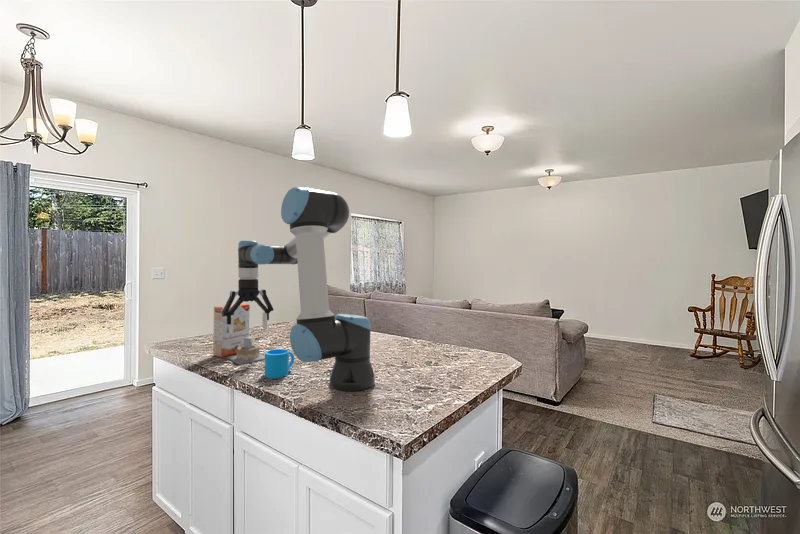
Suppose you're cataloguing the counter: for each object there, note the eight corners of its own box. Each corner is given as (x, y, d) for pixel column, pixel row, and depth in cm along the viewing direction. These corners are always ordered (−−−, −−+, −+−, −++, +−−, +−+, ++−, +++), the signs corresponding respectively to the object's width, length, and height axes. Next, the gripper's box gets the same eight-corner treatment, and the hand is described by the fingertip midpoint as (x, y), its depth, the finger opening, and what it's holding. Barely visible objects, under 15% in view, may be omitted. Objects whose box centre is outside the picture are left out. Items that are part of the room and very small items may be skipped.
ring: (261, 357, 153) (261, 347, 152) (241, 361, 147) (241, 350, 147) (253, 353, 158) (253, 344, 158) (234, 356, 153) (234, 347, 153)
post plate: (268, 359, 152) (268, 338, 152) (238, 364, 144) (238, 342, 144) (256, 353, 161) (256, 333, 161) (227, 358, 153) (227, 337, 153)
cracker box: (222, 357, 153) (222, 307, 153) (212, 355, 156) (212, 306, 155) (249, 350, 166) (250, 303, 165) (240, 348, 168) (240, 302, 168)
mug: (275, 379, 128) (275, 356, 128) (259, 375, 132) (259, 352, 132) (301, 370, 138) (301, 349, 138) (285, 367, 142) (286, 345, 142)
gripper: (273, 277, 163) (273, 325, 163) (212, 279, 146) (213, 333, 146) (281, 278, 158) (281, 327, 158) (219, 279, 141) (219, 335, 141)
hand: (248, 330), depth 152 cm, fingers open, 13 cm apart
